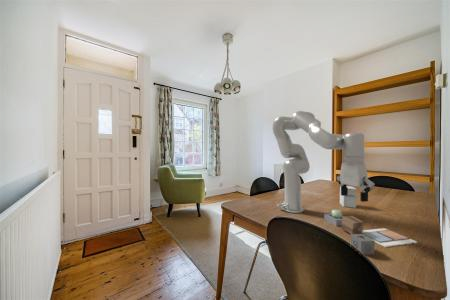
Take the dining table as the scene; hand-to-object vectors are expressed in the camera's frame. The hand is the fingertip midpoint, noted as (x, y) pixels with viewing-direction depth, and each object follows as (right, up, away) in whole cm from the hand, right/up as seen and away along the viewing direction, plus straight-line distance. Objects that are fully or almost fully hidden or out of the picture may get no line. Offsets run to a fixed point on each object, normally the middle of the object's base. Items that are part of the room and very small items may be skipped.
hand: (353, 198), depth 78 cm
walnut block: (-1, -15, +1) cm, 15 cm away
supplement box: (+24, -16, +38) cm, 47 cm away
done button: (0, -14, +11) cm, 18 cm away
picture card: (+11, -16, -4) cm, 20 cm away
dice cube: (-7, -16, -13) cm, 22 cm away
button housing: (0, -16, +11) cm, 20 cm away
